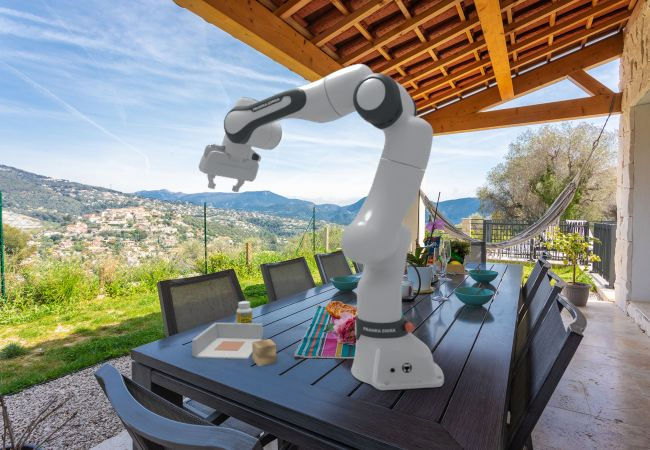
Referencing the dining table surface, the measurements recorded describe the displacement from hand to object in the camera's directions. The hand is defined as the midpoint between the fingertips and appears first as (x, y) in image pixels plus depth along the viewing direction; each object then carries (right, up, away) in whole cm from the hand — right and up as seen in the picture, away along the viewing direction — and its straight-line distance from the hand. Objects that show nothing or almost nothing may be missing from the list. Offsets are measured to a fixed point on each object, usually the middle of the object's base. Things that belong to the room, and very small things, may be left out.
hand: (223, 189), depth 115 cm
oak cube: (+17, -49, -18) cm, 55 cm away
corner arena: (+4, -49, -8) cm, 49 cm away
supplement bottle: (+5, -48, +9) cm, 49 cm away
